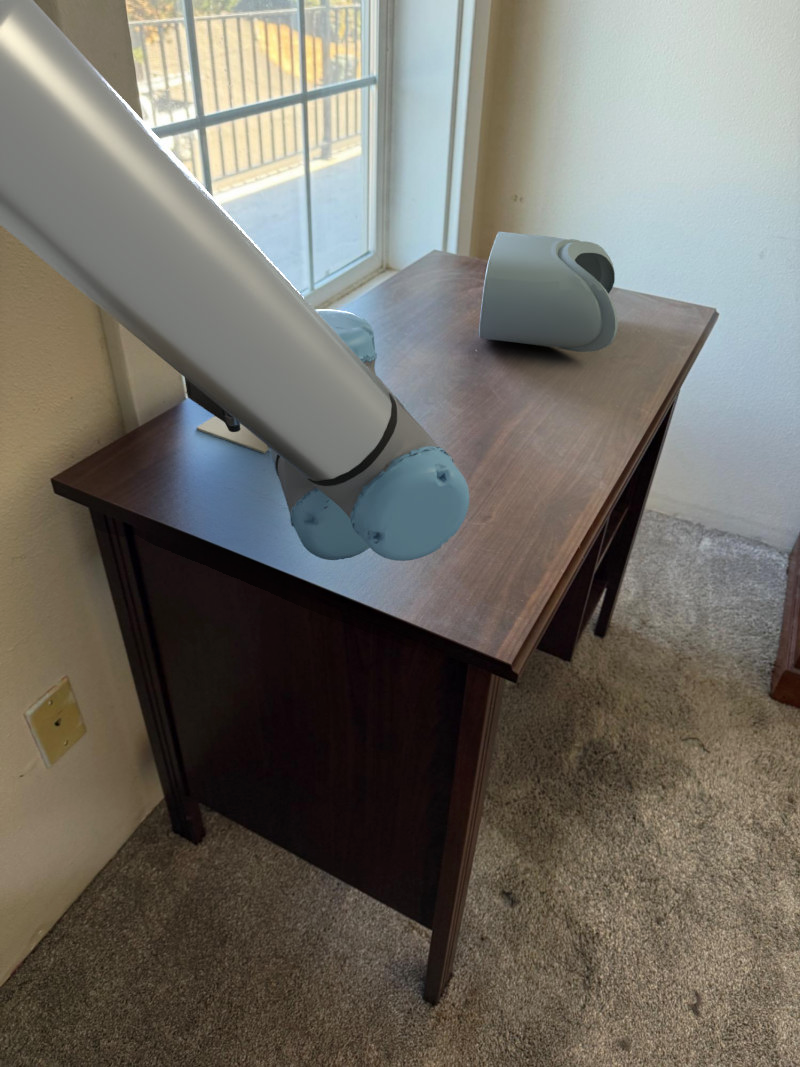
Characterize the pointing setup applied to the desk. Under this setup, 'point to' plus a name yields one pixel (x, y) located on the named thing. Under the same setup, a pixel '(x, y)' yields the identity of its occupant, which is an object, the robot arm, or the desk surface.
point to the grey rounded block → (548, 293)
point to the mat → (233, 434)
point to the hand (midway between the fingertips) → (268, 346)
